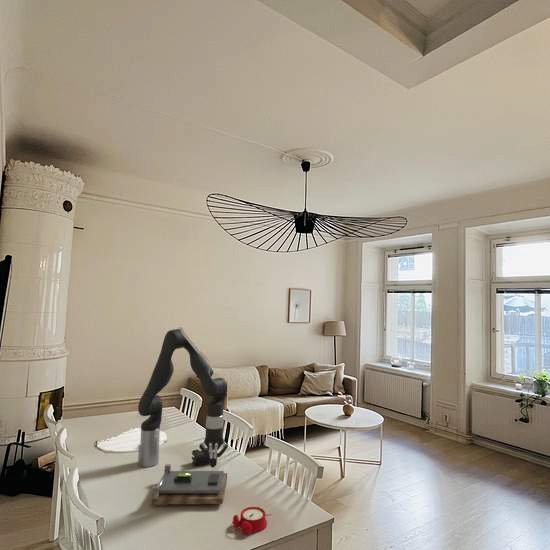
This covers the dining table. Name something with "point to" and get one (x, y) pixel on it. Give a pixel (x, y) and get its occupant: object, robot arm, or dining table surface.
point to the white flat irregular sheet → (126, 441)
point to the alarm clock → (250, 520)
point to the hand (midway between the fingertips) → (213, 466)
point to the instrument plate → (191, 482)
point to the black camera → (200, 457)
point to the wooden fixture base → (188, 495)
